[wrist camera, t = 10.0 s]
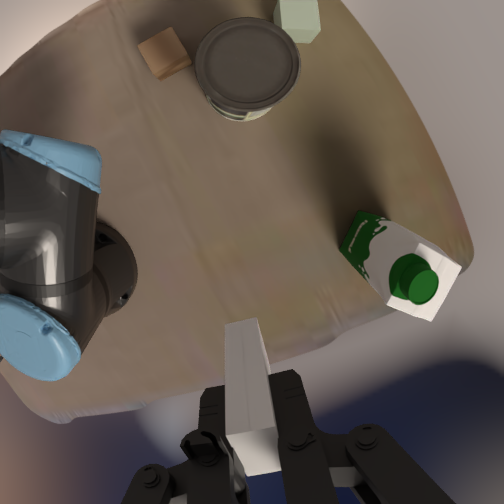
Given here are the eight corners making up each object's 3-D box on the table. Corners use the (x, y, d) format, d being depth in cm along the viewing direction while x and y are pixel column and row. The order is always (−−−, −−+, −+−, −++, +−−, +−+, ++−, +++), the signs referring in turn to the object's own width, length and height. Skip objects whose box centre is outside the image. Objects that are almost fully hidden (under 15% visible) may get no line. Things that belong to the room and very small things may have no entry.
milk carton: (355, 202, 46) (429, 240, 27) (399, 225, 48) (478, 270, 29) (331, 253, 49) (387, 318, 30) (376, 272, 50) (440, 336, 31)
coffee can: (205, 123, 41) (194, 113, 28) (204, 54, 38) (194, 18, 25) (280, 122, 42) (302, 112, 29) (278, 54, 39) (299, 18, 25)
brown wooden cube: (161, 81, 39) (153, 74, 34) (146, 55, 37) (137, 45, 32) (192, 63, 38) (188, 54, 34) (176, 37, 37) (171, 26, 32)
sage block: (275, 42, 38) (282, 28, 32) (273, 13, 36) (279, -3, 31) (309, 43, 38) (320, 30, 33) (306, 14, 37) (316, -1, 31)
